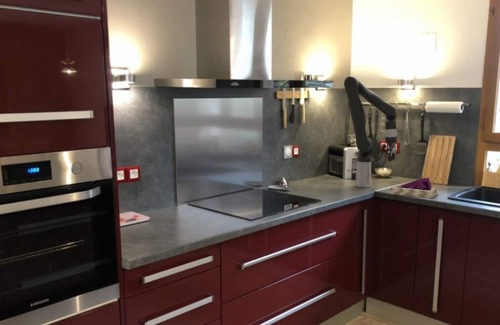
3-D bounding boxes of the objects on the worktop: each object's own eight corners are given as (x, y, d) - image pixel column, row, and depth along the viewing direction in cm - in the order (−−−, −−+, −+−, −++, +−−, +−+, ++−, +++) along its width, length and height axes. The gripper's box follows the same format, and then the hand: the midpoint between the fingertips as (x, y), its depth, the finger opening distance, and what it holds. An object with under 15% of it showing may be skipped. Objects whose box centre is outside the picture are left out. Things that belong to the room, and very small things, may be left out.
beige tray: (390, 193, 282) (390, 187, 282) (396, 189, 294) (396, 183, 294) (432, 198, 269) (433, 191, 269) (436, 193, 281) (437, 187, 281)
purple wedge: (401, 199, 293) (423, 192, 278) (397, 187, 295) (418, 179, 280) (411, 197, 298) (433, 190, 283) (407, 185, 300) (428, 177, 285)
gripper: (388, 135, 303) (388, 159, 305) (382, 137, 291) (383, 161, 293) (399, 135, 299) (400, 159, 301) (394, 136, 287) (394, 161, 289)
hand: (391, 160), depth 297 cm, fingers open, 8 cm apart
